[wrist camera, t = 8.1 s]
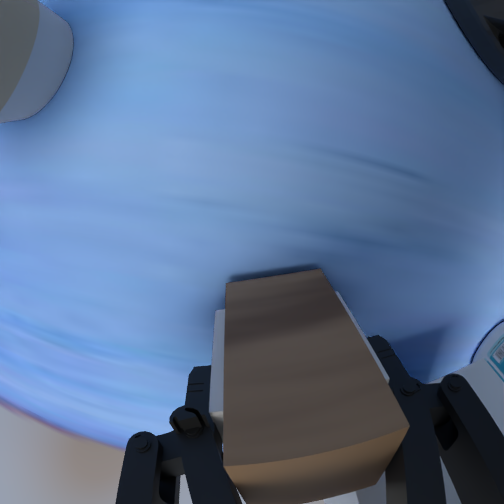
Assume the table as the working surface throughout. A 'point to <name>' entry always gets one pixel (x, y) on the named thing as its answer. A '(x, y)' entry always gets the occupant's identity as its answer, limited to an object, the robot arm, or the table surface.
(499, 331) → the pill bottle
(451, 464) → the robot arm
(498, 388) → the cabinet
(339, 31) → the table surface
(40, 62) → the coffee cup
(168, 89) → the table surface
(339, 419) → the wood grain block
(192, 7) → the table surface
